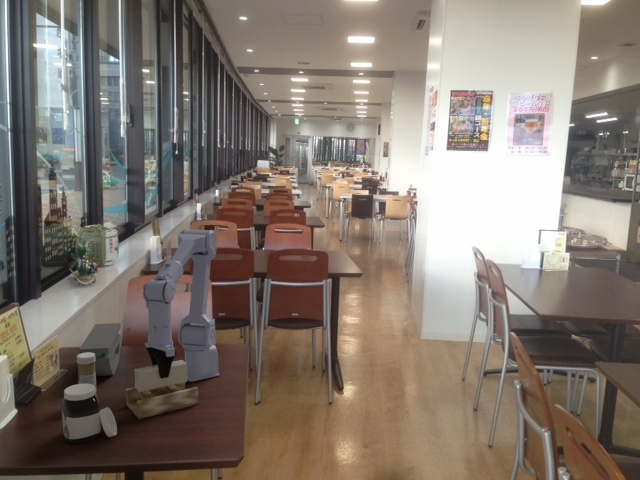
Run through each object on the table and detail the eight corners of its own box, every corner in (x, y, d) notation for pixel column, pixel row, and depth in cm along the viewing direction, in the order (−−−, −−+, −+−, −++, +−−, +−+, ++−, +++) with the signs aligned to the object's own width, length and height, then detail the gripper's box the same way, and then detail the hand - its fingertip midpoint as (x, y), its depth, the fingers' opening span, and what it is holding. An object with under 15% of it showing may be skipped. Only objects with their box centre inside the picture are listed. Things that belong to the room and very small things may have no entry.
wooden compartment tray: (183, 391, 165) (183, 376, 164) (198, 404, 157) (198, 388, 156) (126, 405, 155) (125, 388, 155) (138, 419, 147) (138, 402, 147)
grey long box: (109, 384, 169) (108, 347, 168) (81, 385, 168) (79, 349, 166) (121, 354, 194) (120, 323, 192) (96, 356, 192) (95, 324, 191)
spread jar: (59, 432, 140) (56, 386, 139) (107, 419, 147) (105, 375, 145) (73, 452, 131) (70, 403, 129) (123, 438, 138) (121, 391, 136)
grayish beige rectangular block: (182, 377, 160) (182, 359, 159) (187, 381, 157) (187, 363, 157) (134, 387, 153) (134, 369, 152) (139, 392, 150) (138, 373, 149)
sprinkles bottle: (82, 399, 159) (79, 351, 157) (99, 399, 159) (97, 351, 157) (76, 406, 154) (74, 357, 152) (94, 406, 155) (92, 357, 153)
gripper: (135, 320, 156) (137, 369, 158) (154, 334, 145) (156, 387, 147) (161, 317, 160) (162, 364, 162) (182, 330, 149) (183, 381, 151)
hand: (161, 375), depth 155 cm, fingers closed on grayish beige rectangular block, 3 cm apart
